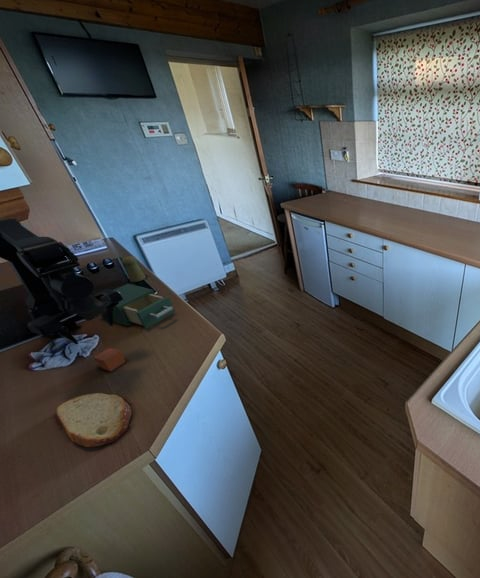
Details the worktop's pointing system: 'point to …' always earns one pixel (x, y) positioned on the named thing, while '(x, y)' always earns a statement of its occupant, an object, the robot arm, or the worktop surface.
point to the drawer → (148, 310)
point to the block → (110, 359)
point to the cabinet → (128, 301)
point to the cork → (133, 269)
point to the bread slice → (94, 418)
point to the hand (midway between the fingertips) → (94, 334)
